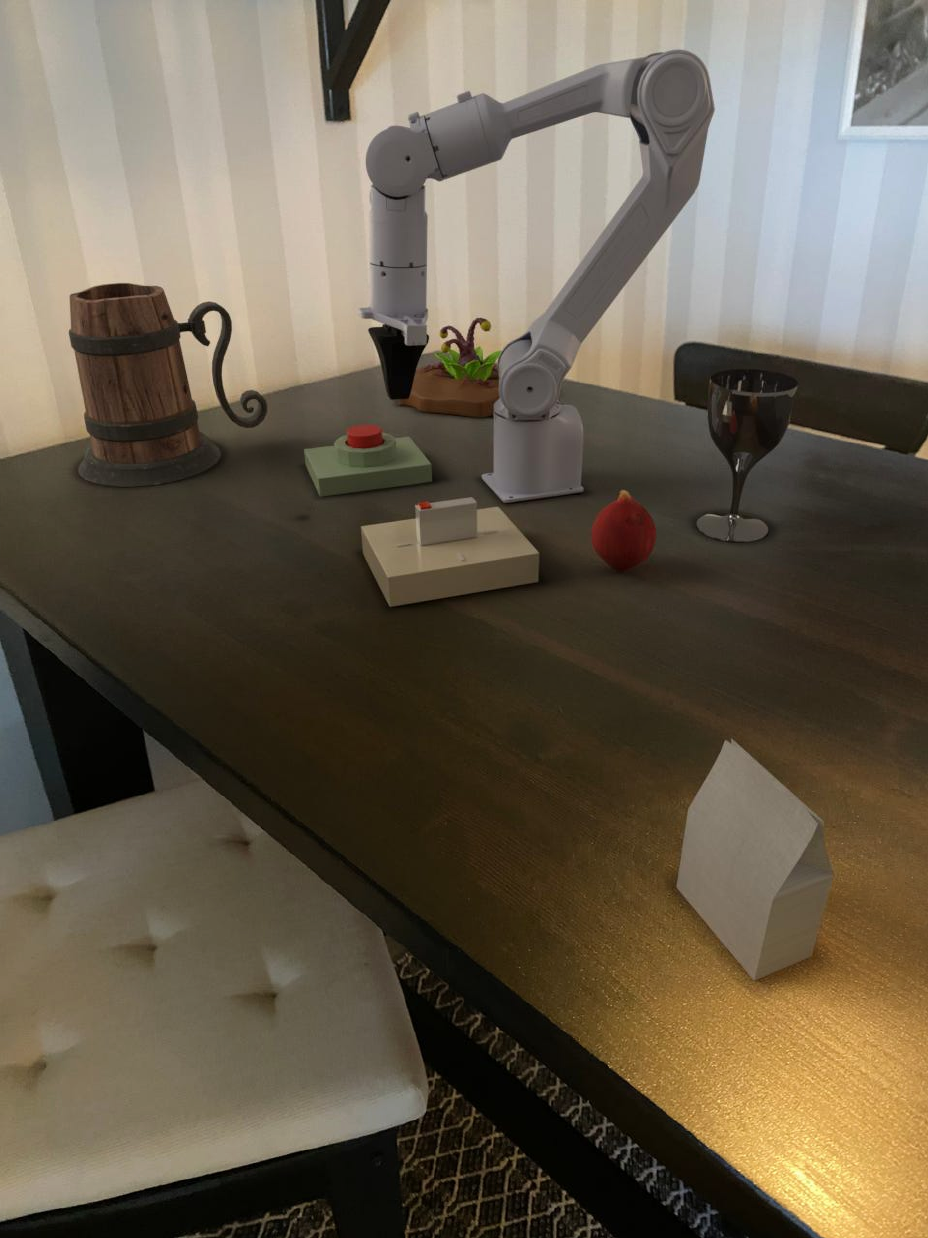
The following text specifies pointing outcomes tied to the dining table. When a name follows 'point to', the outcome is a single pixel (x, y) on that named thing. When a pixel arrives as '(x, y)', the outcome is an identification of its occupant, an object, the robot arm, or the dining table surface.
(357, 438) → the button
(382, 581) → the plate
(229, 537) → the dining table surface
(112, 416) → the tankard
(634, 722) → the dining table surface
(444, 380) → the plant
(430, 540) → the switch box
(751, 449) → the wine glass
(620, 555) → the onion
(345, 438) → the button block
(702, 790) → the tea bag
